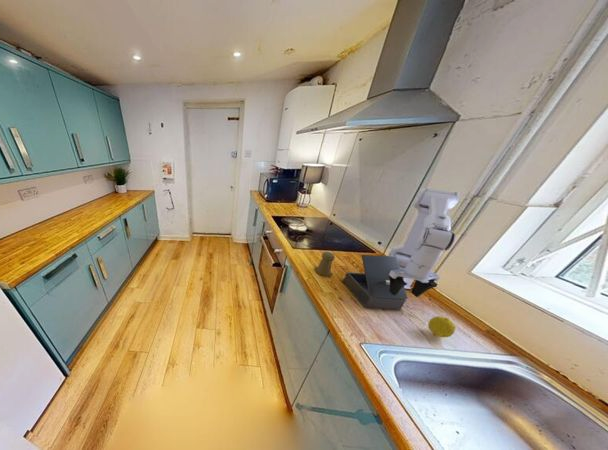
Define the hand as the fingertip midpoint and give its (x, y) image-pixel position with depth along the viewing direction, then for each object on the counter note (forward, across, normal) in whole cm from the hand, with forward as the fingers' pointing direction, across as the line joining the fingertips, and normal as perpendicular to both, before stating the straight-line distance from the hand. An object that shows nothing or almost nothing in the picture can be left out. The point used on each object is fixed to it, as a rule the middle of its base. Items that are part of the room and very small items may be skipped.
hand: (403, 294), depth 71 cm
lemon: (+10, +9, -8) cm, 16 cm away
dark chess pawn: (+11, -14, +24) cm, 30 cm away
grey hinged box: (+10, -1, +10) cm, 15 cm away
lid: (-1, -1, +9) cm, 9 cm away
